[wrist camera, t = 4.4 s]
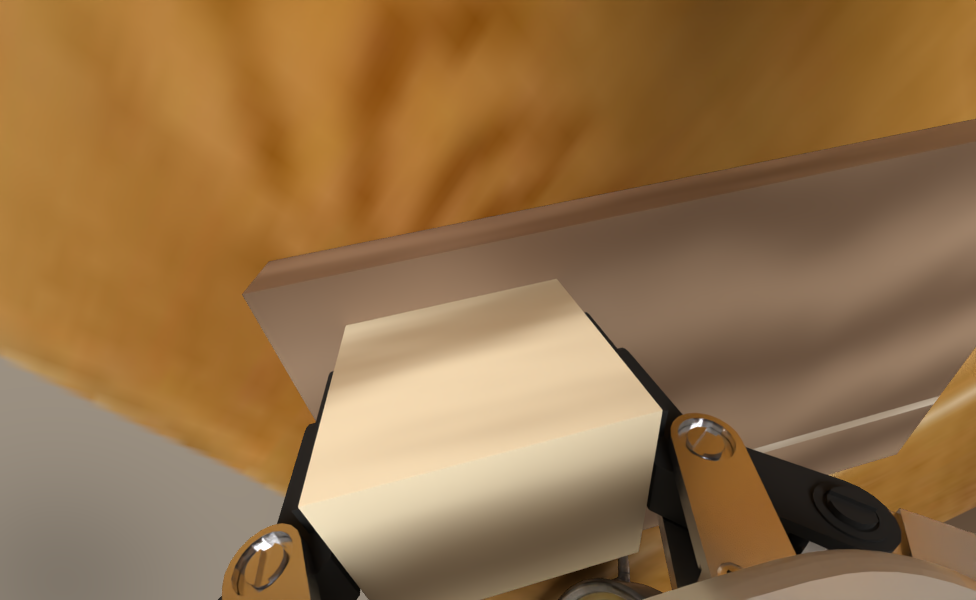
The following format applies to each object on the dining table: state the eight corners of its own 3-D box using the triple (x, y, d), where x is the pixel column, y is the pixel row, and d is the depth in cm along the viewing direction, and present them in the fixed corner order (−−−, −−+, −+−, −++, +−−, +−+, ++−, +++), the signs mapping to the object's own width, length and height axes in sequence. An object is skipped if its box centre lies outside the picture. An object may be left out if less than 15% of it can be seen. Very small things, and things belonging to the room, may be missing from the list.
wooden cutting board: (269, 261, 10) (242, 294, 9) (1057, 102, 13) (1154, 103, 11) (417, 553, 20) (418, 597, 18) (859, 426, 22) (896, 454, 21)
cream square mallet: (345, 325, 10) (298, 506, 5) (556, 278, 10) (663, 410, 6) (442, 551, 16) (454, 711, 12) (567, 515, 17) (620, 656, 13)
